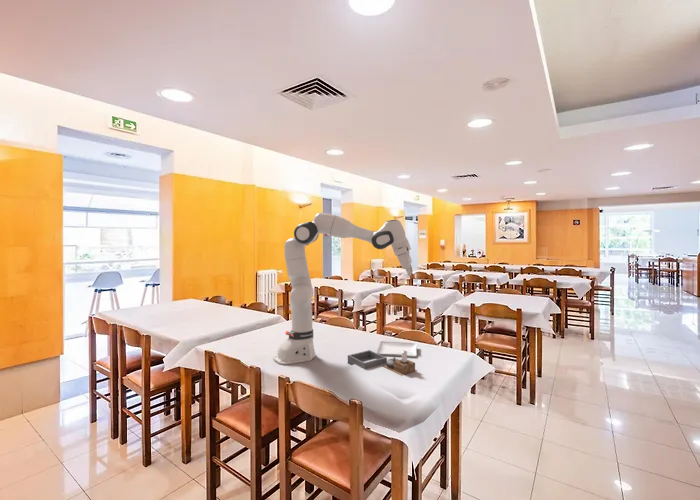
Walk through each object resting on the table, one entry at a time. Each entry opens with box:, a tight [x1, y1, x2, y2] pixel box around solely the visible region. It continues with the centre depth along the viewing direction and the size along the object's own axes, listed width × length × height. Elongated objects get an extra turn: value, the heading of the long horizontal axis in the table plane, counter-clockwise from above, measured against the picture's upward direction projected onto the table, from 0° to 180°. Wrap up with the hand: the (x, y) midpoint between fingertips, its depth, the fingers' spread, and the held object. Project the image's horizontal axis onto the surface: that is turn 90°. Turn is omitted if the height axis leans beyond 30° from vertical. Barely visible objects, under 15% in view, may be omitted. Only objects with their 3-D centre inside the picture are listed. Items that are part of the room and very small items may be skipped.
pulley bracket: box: [381, 356, 418, 377], centre depth 159 cm, size 10×14×6 cm
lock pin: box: [401, 351, 408, 364], centre depth 156 cm, size 2×2×9 cm
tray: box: [347, 349, 388, 370], centre depth 169 cm, size 14×14×4 cm
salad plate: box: [375, 340, 418, 358], centre depth 185 cm, size 21×21×3 cm
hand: (410, 273), depth 176 cm, fingers open, 8 cm apart
